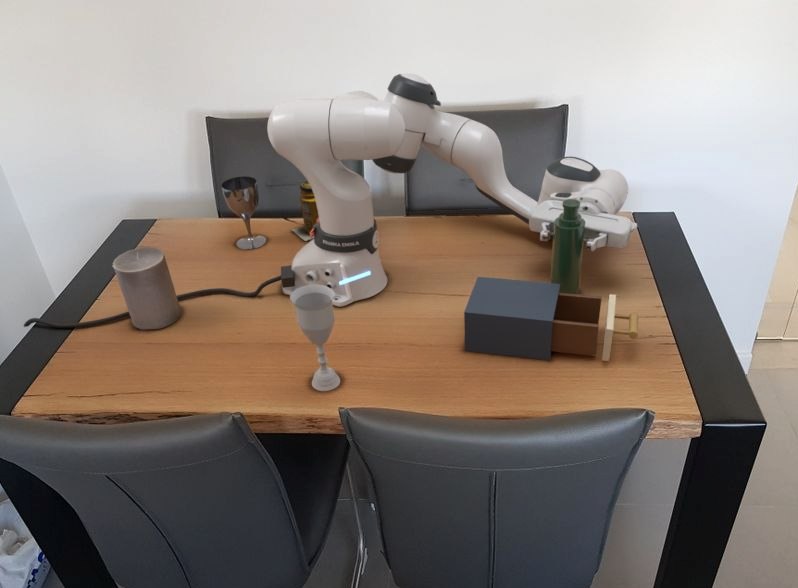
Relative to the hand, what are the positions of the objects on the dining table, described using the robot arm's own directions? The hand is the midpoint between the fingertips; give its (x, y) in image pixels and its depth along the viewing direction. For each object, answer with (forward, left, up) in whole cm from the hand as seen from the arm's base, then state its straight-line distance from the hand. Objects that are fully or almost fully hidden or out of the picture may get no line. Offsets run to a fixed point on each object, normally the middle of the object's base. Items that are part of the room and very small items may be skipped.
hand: (566, 242), depth 138 cm
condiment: (-62, +19, -12) cm, 66 cm away
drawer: (+5, -16, -11) cm, 20 cm away
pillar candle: (-80, -23, -12) cm, 84 cm away
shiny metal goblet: (-75, +11, -12) cm, 77 cm away
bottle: (0, +1, -12) cm, 12 cm away
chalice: (-38, -36, -12) cm, 54 cm away
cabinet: (-8, -16, -12) cm, 22 cm away
